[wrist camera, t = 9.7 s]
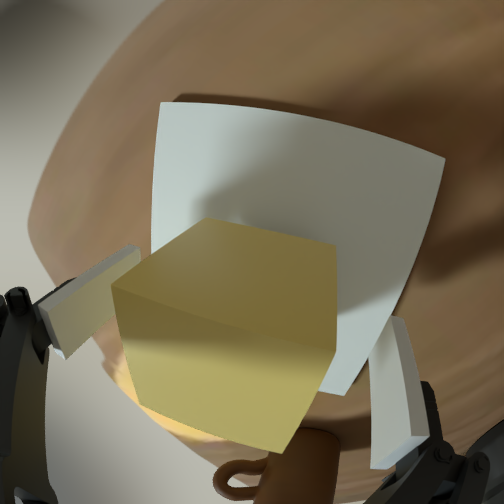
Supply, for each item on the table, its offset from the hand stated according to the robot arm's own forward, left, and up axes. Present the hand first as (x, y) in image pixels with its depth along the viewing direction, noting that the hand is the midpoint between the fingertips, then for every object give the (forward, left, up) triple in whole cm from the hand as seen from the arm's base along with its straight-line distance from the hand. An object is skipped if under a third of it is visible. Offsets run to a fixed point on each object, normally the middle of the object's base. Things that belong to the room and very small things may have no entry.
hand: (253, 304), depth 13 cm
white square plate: (0, 0, -4) cm, 4 cm away
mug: (-20, -6, -5) cm, 21 cm away
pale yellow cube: (0, 0, -1) cm, 1 cm away
